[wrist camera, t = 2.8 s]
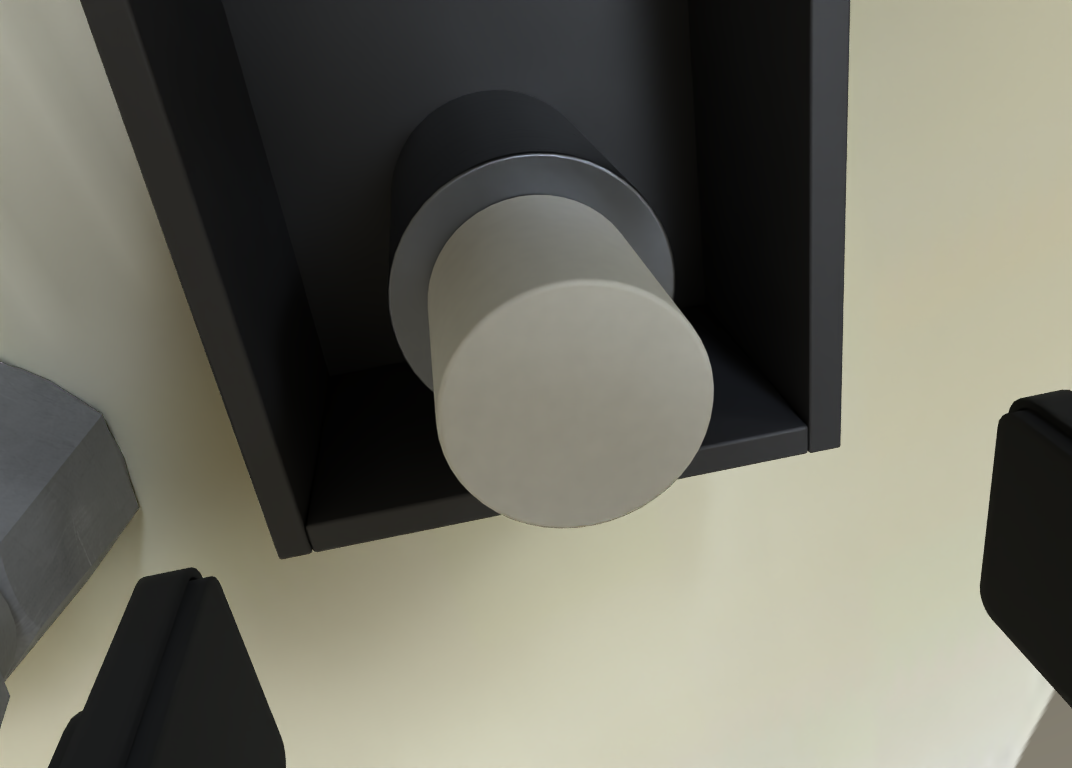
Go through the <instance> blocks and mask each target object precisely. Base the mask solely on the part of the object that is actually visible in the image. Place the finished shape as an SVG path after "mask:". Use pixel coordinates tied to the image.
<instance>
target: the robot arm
mask: <svg viewBox="0 0 1072 768" xmlns="http://www.w3.org/2000/svg"><path fill="white" fill-rule="evenodd" d="M980 594H981V599H982V602H983V605H984V607H985V609H986V611H987V613H988V615H989V616H990V617H991V619H992V620H993V621H994V622H995V623H996V624H997V626H998V627H999V628H1000V629H1001V630H1002V631H1003V632H1004V633H1005V634H1006V636H1007V637H1008V638H1009V639H1010V640H1011V641H1012V642H1013V643H1014V644H1015V646H1016V647H1017V648H1018V649H1019V650H1020V651H1021V652H1022V653H1023V654H1024V656H1025V657H1026V658H1027V659H1028V660H1029V661H1030V662H1031V663H1032V664H1033V666H1034V667H1035V668H1036V669H1037V670H1038V671H1039V672H1040V673H1041V674H1042V676H1043V677H1044V678H1045V679H1046V680H1047V681H1048V682H1049V683H1050V684H1051V686H1052V687H1053V688H1054V689H1055V690H1056V691H1057V692H1058V693H1059V694H1060V695H1061V696H1062V698H1063V699H1064V700H1065V701H1066V702H1067V703H1068V704H1069V705H1070V707H1071V708H1072V391H1070V390H1059V391H1054V392H1049V393H1044V394H1039V395H1035V396H1030V397H1025V398H1020V399H1018V400H1016V401H1014V402H1013V404H1012V405H1011V407H1010V409H1009V413H1007V414H1005V415H1003V416H1002V417H1001V419H1000V420H999V424H998V429H997V438H996V447H995V456H994V465H993V474H992V483H991V492H990V501H989V510H988V519H987V528H986V537H985V545H984V554H983V563H982V572H981V581H980ZM48 768H286V758H285V750H284V745H283V741H282V738H281V735H280V733H279V730H278V728H277V725H276V723H275V720H274V718H273V715H272V713H271V710H270V708H269V705H268V703H267V700H266V697H265V695H264V692H263V690H262V687H261V685H260V682H259V680H258V677H257V675H256V672H255V670H254V667H253V665H252V662H251V660H250V657H249V655H248V652H247V650H246V647H245V645H244V642H243V640H242V637H241V635H240V632H239V630H238V627H237V625H236V622H235V620H234V617H233V615H232V612H231V609H230V607H229V604H228V602H227V599H226V597H225V594H224V592H223V589H222V587H221V585H220V583H219V581H218V580H217V578H216V577H213V576H211V577H206V578H203V577H202V575H201V573H200V572H199V571H198V570H197V569H196V568H192V567H191V568H186V569H181V570H176V571H171V572H166V573H161V574H156V575H151V576H147V577H143V578H141V579H140V580H139V581H138V583H137V584H136V586H135V588H134V591H133V593H132V596H131V598H130V600H129V603H128V605H127V607H126V610H125V612H124V614H123V617H122V619H121V622H120V624H119V626H118V629H117V631H116V633H115V636H114V638H113V640H112V643H111V645H110V648H109V650H108V652H107V655H106V657H105V659H104V662H103V664H102V666H101V669H100V671H99V674H98V676H97V678H96V681H95V683H94V685H93V688H92V690H91V693H90V695H89V697H88V700H87V702H86V704H85V707H84V709H83V711H81V712H79V713H78V714H77V715H75V716H74V717H73V718H71V720H70V722H69V723H68V725H67V727H66V728H65V730H64V732H63V734H62V736H61V739H60V741H59V743H58V746H57V748H56V750H55V753H54V755H53V757H52V759H51V762H50V764H49V766H48Z"/></svg>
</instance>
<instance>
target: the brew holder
mask: <svg viewBox="0 0 1072 768" xmlns="http://www.w3.org/2000/svg"><path fill="white" fill-rule="evenodd" d="M527 195H552V196H559V197H564V198H568V199H571V200H574V201H577V202H580V203H582V204H584V205H586V206H589V207H590V208H592V209H594V210H595V211H597V212H598V213H600V214H602V215H603V216H604V217H605V218H606V219H608V220H609V221H610V222H611V223H612V224H613V225H614V226H615V227H616V228H617V229H618V231H619V232H620V233H621V234H622V235H623V237H624V238H625V239H626V241H627V242H628V243H629V244H630V246H631V247H632V248H633V250H634V251H635V252H636V254H637V255H638V256H639V257H640V259H641V260H642V261H643V263H644V264H645V265H646V267H647V268H648V269H649V270H650V272H651V273H652V274H653V276H654V277H655V278H656V280H657V281H658V282H659V283H660V285H661V286H662V287H663V289H664V290H665V291H666V292H667V294H668V295H669V296H670V298H671V299H672V300H673V301H674V294H675V268H674V261H673V254H672V251H671V247H670V244H669V240H668V237H667V235H666V232H665V230H664V228H663V226H662V224H661V221H660V220H659V218H658V216H657V215H656V213H655V212H654V210H653V209H652V207H651V205H650V204H649V203H648V202H647V201H646V200H645V198H644V197H643V196H642V195H641V194H640V193H639V191H638V190H637V189H636V188H635V187H634V186H633V185H632V184H631V183H630V182H629V181H628V180H627V179H626V178H625V177H624V176H623V175H622V174H621V173H620V172H619V171H618V170H617V169H616V168H615V167H614V166H613V165H612V164H611V163H610V162H609V161H608V160H607V159H606V158H605V157H604V156H603V155H602V153H601V152H600V151H599V150H598V149H597V148H596V147H595V146H594V145H593V144H592V143H591V142H590V141H589V140H588V139H587V138H586V137H585V136H584V135H583V134H582V133H581V132H580V131H579V130H578V129H577V128H576V127H575V126H574V125H573V124H572V123H571V122H570V121H569V120H568V119H567V118H566V117H565V116H564V115H563V114H561V113H560V112H559V111H558V110H556V109H555V108H553V107H552V106H550V105H549V104H547V103H545V102H543V101H541V100H539V99H537V98H535V97H532V96H529V95H526V94H523V93H518V92H512V91H505V90H489V91H479V92H475V93H471V94H466V95H463V96H461V97H458V98H456V99H453V100H451V101H449V102H447V103H446V104H444V105H442V106H440V107H439V108H437V109H436V110H435V111H433V112H432V113H431V114H429V115H428V116H427V117H426V118H425V119H424V120H423V121H422V122H421V123H420V124H419V125H418V126H417V127H416V128H415V130H414V131H413V132H412V134H411V135H410V136H409V138H408V140H407V141H406V143H405V145H404V147H403V148H402V150H401V153H400V155H399V158H398V160H397V163H396V167H395V171H394V175H393V183H392V195H391V218H390V242H389V266H388V310H389V316H390V322H391V326H392V330H393V333H394V336H395V339H396V342H397V344H398V346H399V348H400V350H401V352H402V354H403V357H404V358H405V360H406V361H407V363H408V364H409V366H410V367H411V369H412V370H413V372H414V373H415V374H416V375H417V376H418V378H419V379H420V380H421V381H422V382H423V383H424V384H425V385H426V386H427V387H428V388H429V389H430V390H431V391H432V392H434V387H433V373H432V359H431V345H430V331H429V317H428V289H429V282H430V278H431V274H432V271H433V267H434V265H435V263H436V260H437V258H438V256H439V254H440V252H441V251H442V249H443V247H444V246H445V244H446V242H447V241H448V240H449V239H450V237H451V236H452V235H453V234H454V232H455V231H456V230H457V229H458V228H459V227H460V226H462V225H463V224H464V223H465V222H466V221H467V220H468V219H470V218H471V217H473V216H474V215H475V214H477V213H478V212H480V211H482V210H484V209H485V208H487V207H489V206H491V205H493V204H496V203H498V202H501V201H504V200H507V199H511V198H515V197H519V196H527Z"/></svg>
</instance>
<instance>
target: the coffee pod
mask: <svg viewBox="0 0 1072 768" xmlns="http://www.w3.org/2000/svg"><path fill="white" fill-rule="evenodd" d="M428 317H429V331H430V345H431V359H432V373H433V387H434V400H435V414H436V425H437V432H438V438H439V442H440V445H441V448H442V451H443V454H444V456H445V458H446V460H447V462H448V465H449V467H450V468H451V470H452V471H453V473H454V474H455V476H456V477H457V479H458V480H459V482H460V483H461V484H462V485H463V486H464V487H465V488H466V489H467V490H468V491H469V492H470V493H471V494H472V495H473V496H474V497H476V498H477V499H478V500H479V501H480V502H482V503H483V504H484V505H486V506H488V507H489V508H491V509H492V510H494V511H496V512H497V513H499V514H502V515H504V516H506V517H508V518H510V519H513V520H516V521H519V522H522V523H526V524H530V525H535V526H541V527H549V528H578V527H585V526H591V525H596V524H600V523H604V522H608V521H611V520H614V519H617V518H619V517H622V516H625V515H627V514H629V513H631V512H633V511H635V510H637V509H639V508H641V507H643V506H644V505H646V504H647V503H649V502H650V501H652V500H653V499H655V498H656V497H658V496H659V495H660V494H661V493H663V492H664V491H665V490H666V489H668V488H669V487H670V486H671V485H672V484H673V483H674V482H675V481H676V480H677V479H678V478H679V477H680V476H681V474H682V473H683V472H684V471H685V469H686V468H687V467H688V465H689V464H690V463H691V461H692V460H693V458H694V456H695V455H696V453H697V452H698V450H699V448H700V446H701V444H702V441H703V439H704V437H705V435H706V432H707V429H708V425H709V422H710V419H711V413H712V407H713V397H714V383H713V375H712V368H711V365H710V361H709V358H708V354H707V352H706V349H705V347H704V345H703V343H702V341H701V339H700V337H699V336H698V334H697V333H696V331H695V329H694V328H693V326H692V325H691V324H690V322H689V321H688V320H687V318H686V317H685V316H684V315H683V313H682V312H681V311H680V309H679V308H678V307H677V305H676V304H675V303H674V302H673V300H672V299H671V298H670V296H669V295H668V294H667V292H666V291H665V290H664V289H663V287H662V286H661V285H660V283H659V282H658V281H657V280H656V278H655V277H654V276H653V274H652V273H651V272H650V270H649V269H648V268H647V267H646V265H645V264H644V263H643V261H642V260H641V259H640V257H639V256H638V255H637V254H636V252H635V251H634V250H633V248H632V247H631V246H630V244H629V243H628V242H627V241H626V239H625V238H624V237H623V235H622V234H621V233H620V232H619V231H618V229H617V228H616V227H615V226H614V225H613V224H612V223H611V222H610V221H609V220H608V219H606V218H605V217H604V216H603V215H602V214H600V213H598V212H597V211H595V210H594V209H592V208H590V207H589V206H586V205H584V204H582V203H580V202H577V201H574V200H571V199H568V198H564V197H559V196H552V195H527V196H519V197H515V198H511V199H507V200H504V201H501V202H498V203H496V204H493V205H491V206H489V207H487V208H485V209H484V210H482V211H480V212H478V213H477V214H475V215H474V216H473V217H471V218H470V219H468V220H467V221H466V222H465V223H464V224H463V225H462V226H460V227H459V228H458V229H457V230H456V231H455V232H454V234H453V235H452V236H451V237H450V239H449V240H448V241H447V242H446V244H445V246H444V247H443V249H442V251H441V252H440V254H439V256H438V258H437V260H436V263H435V265H434V267H433V271H432V274H431V278H430V282H429V289H428Z"/></svg>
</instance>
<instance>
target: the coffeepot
mask: <svg viewBox="0 0 1072 768" xmlns="http://www.w3.org/2000/svg"><path fill="white" fill-rule="evenodd" d="M138 509H139V506H138V503H137V500H136V497H135V494H134V491H133V488H132V485H131V482H130V479H129V475H128V471H127V467H126V464H125V460H124V457H123V455H122V453H121V451H120V449H119V447H118V445H117V443H116V441H115V439H114V437H113V435H112V434H111V433H110V432H109V430H108V427H107V425H106V422H105V419H104V417H103V414H101V413H100V412H98V411H97V410H95V409H94V408H92V407H90V406H89V405H87V404H86V403H84V402H83V401H81V400H80V399H78V398H77V397H75V396H73V395H72V394H70V393H69V392H67V391H65V390H64V389H62V388H61V387H59V386H57V385H56V384H54V383H53V382H51V381H49V380H47V379H45V378H42V377H40V376H38V375H35V374H33V373H31V372H28V371H26V370H24V369H21V368H17V367H13V366H10V365H6V364H4V363H3V362H1V361H0V727H1V724H2V721H3V718H4V714H5V711H6V708H7V705H8V702H9V698H10V695H9V692H8V690H7V687H6V685H5V681H6V679H7V678H8V677H9V676H10V675H11V673H12V672H13V671H14V670H15V668H16V667H17V666H18V665H19V664H20V662H21V661H22V660H23V659H24V657H25V656H26V655H27V654H28V653H29V651H30V650H31V649H32V648H33V646H34V645H35V644H36V643H37V642H38V640H39V639H40V638H41V637H42V636H43V634H44V633H45V632H46V631H47V629H48V628H49V627H50V626H51V625H52V623H53V622H54V621H55V620H56V618H57V617H58V616H59V615H60V614H61V612H62V611H63V610H64V609H65V607H66V606H67V605H68V604H69V603H70V601H71V600H72V599H73V598H74V597H75V595H76V594H77V593H78V592H79V590H80V589H81V588H82V587H83V586H84V584H85V583H86V582H87V581H88V579H89V578H90V576H91V575H92V574H93V572H94V571H95V569H96V568H97V567H98V565H99V564H100V562H101V561H102V559H103V558H104V557H105V555H106V554H107V552H108V551H109V550H110V548H111V547H112V545H113V544H114V543H115V541H116V540H117V538H118V537H119V535H120V534H121V533H122V531H123V530H124V528H125V527H126V526H127V524H128V523H129V521H130V520H131V519H132V517H133V516H134V514H135V513H136V511H137V510H138Z"/></svg>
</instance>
